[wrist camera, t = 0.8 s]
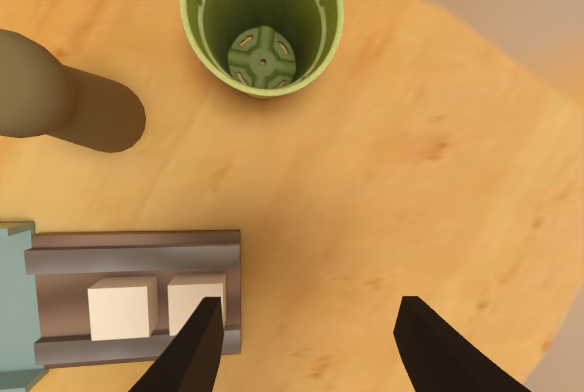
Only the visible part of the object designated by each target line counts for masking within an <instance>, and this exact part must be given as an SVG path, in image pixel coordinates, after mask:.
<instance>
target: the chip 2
mask: <svg viewBox="0 0 584 392" xmlns="http://www.w3.org/2000/svg"><path fill="white" fill-rule="evenodd" d="M204 297H221V304H222V315H223V325H224V327H225V321H226V273H209V274H182V275H175V276H174V278H173V279H172V280H171V282H170V283H169V285H168V306H169V331H170V336H173V335H177V334H178V332H179V331H180V330H181V328H182V327H183V326H184V324H185V323H186V322H187V320H188V319H189V317H190V316H191V315H192V313H193V312H194V310H195V309H196V307H197V306H198V305H199V303H200V302H201V300H202V299H203V298H204Z"/></svg>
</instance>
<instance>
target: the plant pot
mask: <svg viewBox="0 0 584 392" xmlns="http://www.w3.org/2000/svg"><path fill="white" fill-rule="evenodd" d="M180 12H181V19H182V23H183V27H184V30H185V33H186V36H187V38H188V40H189V43H190V45H191V46H192V48H193V50H194V52H195V53H196V55H197V56H198V58H199V59H200V60H201V62H202V63H203V64H204V65H205V66H206V67H207V68H208V69H209V70H210V71H211V72H212V73H213V74H214V75H215V76H216V77H218V78H219V79H220V80H222V81H223V82H224V83H226V84H228V85H229V86H231V87H233V88H235V89H237V90H239V91H242V92H244V93H245V94H247V95H249V96H251V97H254V98H258V99H271V98H275V97H277V96H282V95H286V94H290V93H293V92H296V91H298V90H300V89H302V88H304V87H305V86H307V85H309V84H310V83H311V82H313V81H314V80H315V79H316V78H317V77H318V76H319V75H320V74H321V73H322V72H323V71H324V70H325V68H326V67H327V66H328V64H329V63H330V61H331V60H332V58H333V56H334V54H335V52H336V50H337V47H338V45H339V42H340V38H341V34H342V28H343V17H344V10H343V0H180ZM250 35H251V36H253V39H251V40H250V41H248V42H247V43H245V44H244V45H243V46H242V47H241V46H240V43H241V42H242V41H243V40H244V39H245V38H246V37H247V36H250ZM278 41H279V42H281V43H283V44H284V45H285V46H286V48H287V50H288V55H286V54H285V53H284V51H283V49H282V48H281V46H280V45H279V43H278ZM262 59H263V60H265V61H266V64H265V65H261V64H260V61H261V60H262ZM237 72H239V73H240V74H241V76H242V78H243V79H244V80H245V82H247V83H248V86H247V85H245V84H243V83H241V81H240V80H239V79H238V77H237ZM283 80H285V84H284V85H283V86H282V87H281V88H276V89H273V88H274V87H276V86H277V85H278V84H280V83H281V82H282V81H283Z"/></svg>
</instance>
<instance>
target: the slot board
mask: <svg viewBox="0 0 584 392" xmlns="http://www.w3.org/2000/svg"><path fill="white" fill-rule="evenodd" d="M31 244H32V248H30V249H27V250H25V251H24V259H25V268H26V275H34V274H35V284H36V293H37V303H38V313H39V323H40V333H41V338H40V339H38V340H37V341H36V342H35V343H33V345H34V354H35V364H36V365H44V369H52V368H65V367H78V366H91V365H103V364H116V363H129V362H142V361H155V360H157V358H158V357H159V356H160V355H161V354H162V353H163V351H164V350H165V349H166V348H167V346H168V345H169V344H170V343H171V341H172V340H173V339H174V337H175V336H176V335H173V336H170V331H169V306H168V285H169V283H170V282H171V280H172V279H173V278H174V276H175V275H182V274H209V273H226V321H225V327H224V339H223V346H222V352H221V355H233V354H241V260H240V230H192V231H132V232H71V233H39V234H36V235H33V236H31ZM155 275H157V292H158V314H159V322H158V324H157V326H156V327H155V329H154V330H153V332H152V334H151V335H150V337H142V338H127V339H112V340H97V341H92V339H91V326H90V313H89V300H88V288H90V287H91V286H92V285H94V284H95V283H96V282H98V281H99V280H101V279H102V278H103V277H128V276H155Z"/></svg>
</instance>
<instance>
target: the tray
mask: <svg viewBox="0 0 584 392" xmlns="http://www.w3.org/2000/svg"><path fill="white" fill-rule="evenodd" d="M33 235H35V227H34V222H0V392H29V391H30V390H31V389H32V388H33V387H34V386H35V385H36V384H37V383H38V382H39V381H40V380H41V379H42V378H43V377H44V376H45V375H46V374H47V373H48V371H49V369H44V365H36V364H35V354H34V345H33V343H35V342H36V341H37V340H38V339H40V338H41V333H40V323H39V313H38V303H37V293H36V284H35V274H34V275H26V268H25V259H24V251H25V250H27V249H30V248H32V244H31V236H33Z"/></svg>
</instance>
